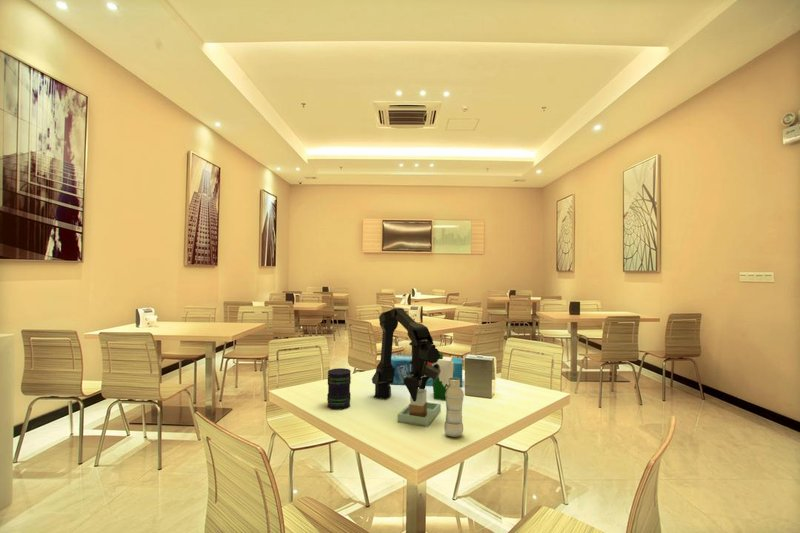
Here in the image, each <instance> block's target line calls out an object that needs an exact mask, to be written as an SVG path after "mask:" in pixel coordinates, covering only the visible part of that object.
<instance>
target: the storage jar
mask: <svg viewBox="0 0 800 533" xmlns="http://www.w3.org/2000/svg"><path fill="white" fill-rule="evenodd" d="M351 378H352V376H351V370H350V369H348V368H344V367H343V368H331V369H329V370H327V386H328V387H327V389H328V391H327V392H328V393H327V397H326V398H327V399H326V400H327V408H328V409H329V410H334V411H341V410H346V409H349V408H350V407H351V397H352V396H351V384H352V379H351Z"/></svg>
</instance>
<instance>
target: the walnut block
mask: <svg viewBox="0 0 800 533" xmlns="http://www.w3.org/2000/svg"><path fill="white" fill-rule="evenodd" d="M427 402H428V401H426V403H425V404H424V405H423V406H418V405H411V404H410V403H409V404H410V407H409V415H413V416H420V417H425V416H426V415H427Z"/></svg>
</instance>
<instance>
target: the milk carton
mask: <svg viewBox="0 0 800 533" xmlns="http://www.w3.org/2000/svg"><path fill="white" fill-rule="evenodd" d="M439 353H440V357H439V360H438V361H437V362H436V363H433V366H434V365H435V364H438V365H439V367H440V369H441V372H440V374H439V376H438V378H437V379H436V380H434V379H433V386H432V390H433V393H432V394H433V400H440V401H441V400H444V401H446V398H445V392H446V390H447V388H448V387H449V386H450V384H449V378H453V365H452V358H453V357H451V356H444V354H443V353H442V352H439Z"/></svg>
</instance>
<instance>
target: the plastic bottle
mask: <svg viewBox="0 0 800 533" xmlns="http://www.w3.org/2000/svg"><path fill="white" fill-rule="evenodd" d="M449 384H450V386H449V387H448V388H447V390H446V392H445V398H446V400H445V403H446V404H445V407H446V410H445V412H446V415H445V422H444V427H443V428H444V433H445V435H446V436H448V437H451V438H458V437H461V436H462V435H463V432H464V423H463V402H464V396H465V393H464V391H463V389H462V388H461V387H460V386H459V385H460V379H459V378H449Z"/></svg>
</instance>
